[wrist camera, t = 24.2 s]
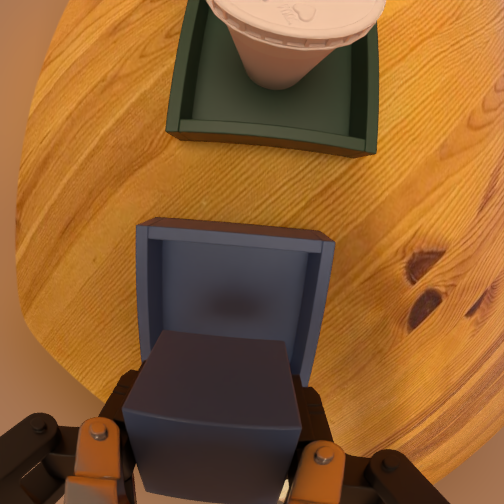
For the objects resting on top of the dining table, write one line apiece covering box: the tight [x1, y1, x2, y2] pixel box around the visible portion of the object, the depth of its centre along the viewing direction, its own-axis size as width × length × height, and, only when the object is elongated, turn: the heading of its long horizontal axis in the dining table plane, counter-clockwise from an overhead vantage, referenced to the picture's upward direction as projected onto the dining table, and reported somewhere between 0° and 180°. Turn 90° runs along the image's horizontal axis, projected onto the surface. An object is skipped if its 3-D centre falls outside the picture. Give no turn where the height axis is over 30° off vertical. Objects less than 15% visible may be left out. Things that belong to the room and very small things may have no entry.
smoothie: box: [206, 0, 386, 90], centre depth 9 cm, size 6×6×14 cm
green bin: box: [165, 0, 379, 158], centre depth 14 cm, size 11×11×4 cm
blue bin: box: [136, 217, 335, 387], centre depth 18 cm, size 10×10×4 cm
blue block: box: [122, 330, 302, 504], centre depth 9 cm, size 4×4×4 cm
